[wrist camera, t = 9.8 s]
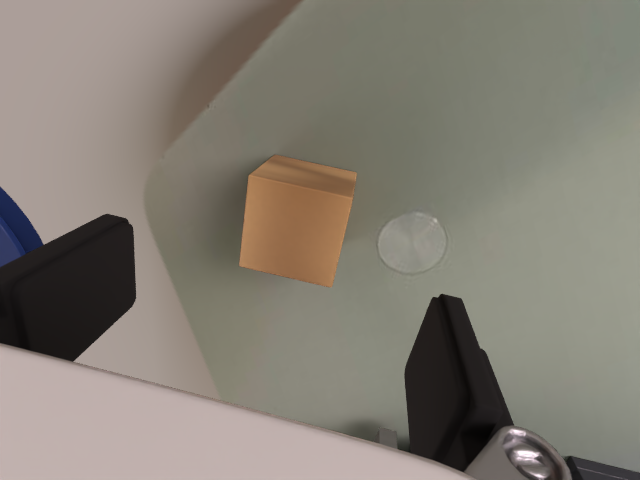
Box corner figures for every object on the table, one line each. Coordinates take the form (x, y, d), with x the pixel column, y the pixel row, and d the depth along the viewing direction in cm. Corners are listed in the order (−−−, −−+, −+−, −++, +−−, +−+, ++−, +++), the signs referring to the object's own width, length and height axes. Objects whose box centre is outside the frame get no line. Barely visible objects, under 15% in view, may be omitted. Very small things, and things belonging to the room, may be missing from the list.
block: (263, 230, 21) (238, 266, 17) (274, 154, 19) (248, 174, 15) (339, 247, 21) (331, 288, 17) (357, 172, 19) (353, 197, 15)
